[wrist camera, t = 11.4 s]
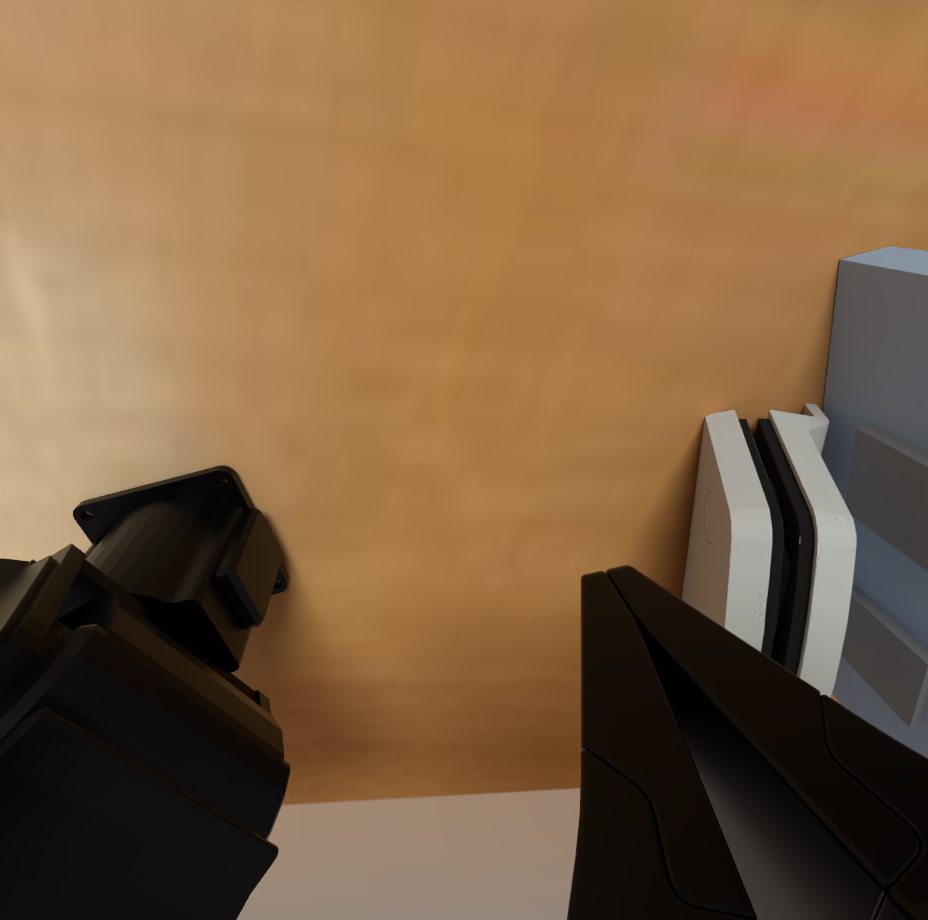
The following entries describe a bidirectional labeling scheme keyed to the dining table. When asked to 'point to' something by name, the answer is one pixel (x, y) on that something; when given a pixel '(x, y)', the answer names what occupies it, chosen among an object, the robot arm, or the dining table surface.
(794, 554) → the white black-striped curved device
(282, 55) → the dining table surface
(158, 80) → the dining table surface
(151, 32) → the dining table surface
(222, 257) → the dining table surface
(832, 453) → the cabinet side panel
